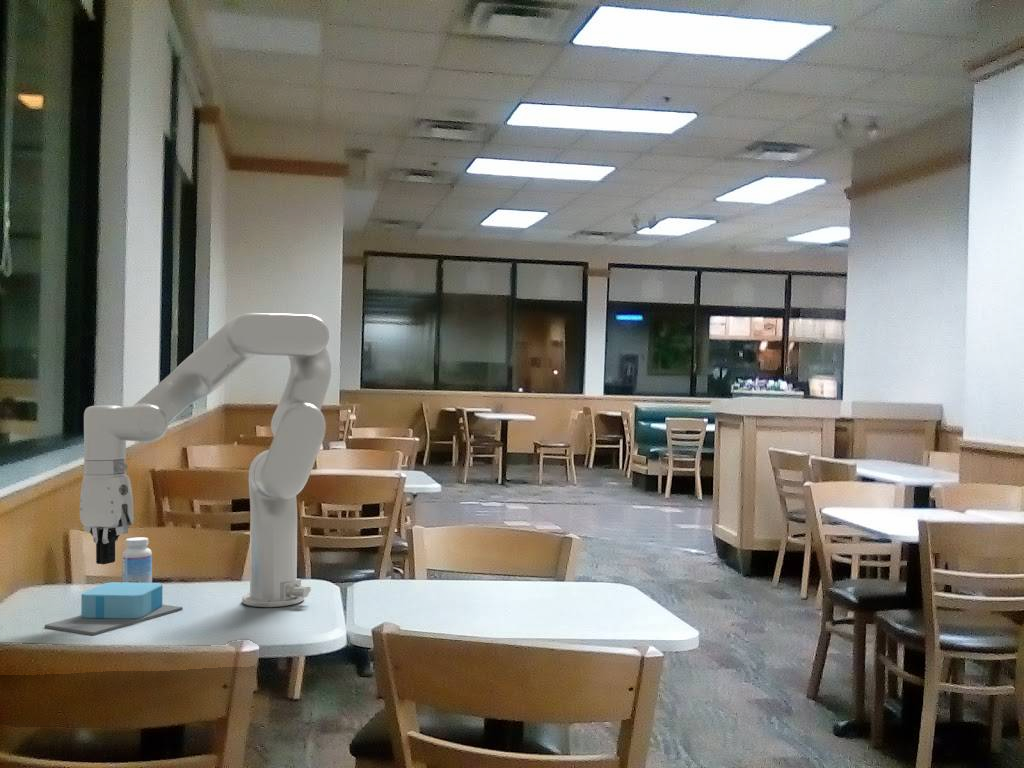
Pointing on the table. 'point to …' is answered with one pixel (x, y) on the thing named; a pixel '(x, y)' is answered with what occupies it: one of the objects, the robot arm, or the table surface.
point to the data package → (121, 600)
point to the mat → (105, 622)
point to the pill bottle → (137, 561)
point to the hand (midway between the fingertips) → (105, 562)
